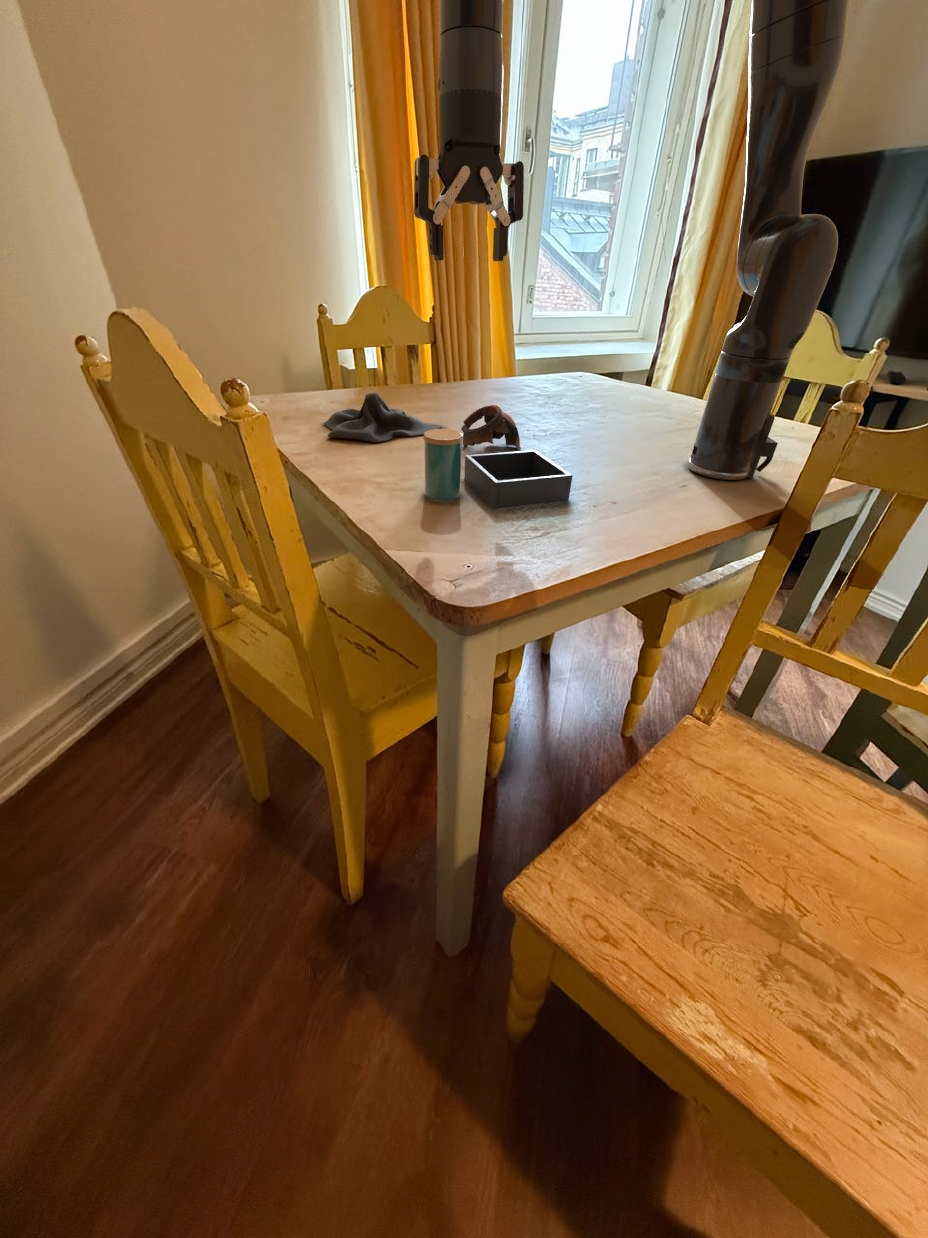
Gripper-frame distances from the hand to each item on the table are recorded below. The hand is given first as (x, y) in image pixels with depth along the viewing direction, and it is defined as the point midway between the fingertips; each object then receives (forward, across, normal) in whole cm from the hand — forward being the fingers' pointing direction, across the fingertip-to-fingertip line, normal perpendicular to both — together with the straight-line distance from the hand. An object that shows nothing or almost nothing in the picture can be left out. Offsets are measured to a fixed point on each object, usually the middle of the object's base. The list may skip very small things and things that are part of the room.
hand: (469, 260), depth 70 cm
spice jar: (+27, -9, -15) cm, 32 cm away
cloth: (+26, -10, +21) cm, 35 cm away
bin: (+27, +2, -16) cm, 31 cm away
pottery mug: (+27, +6, +4) cm, 28 cm away
